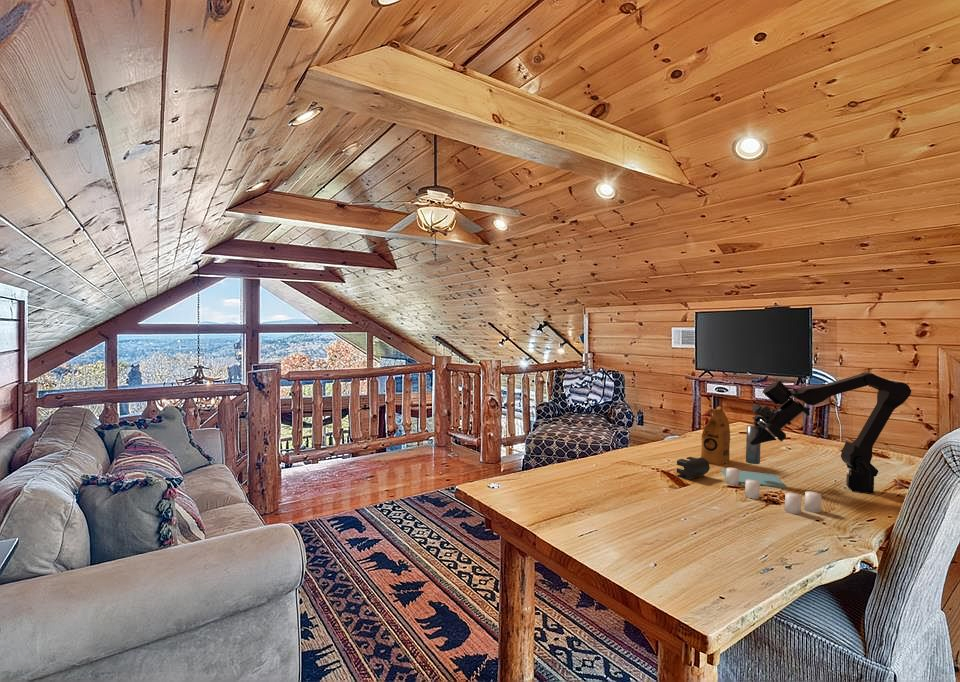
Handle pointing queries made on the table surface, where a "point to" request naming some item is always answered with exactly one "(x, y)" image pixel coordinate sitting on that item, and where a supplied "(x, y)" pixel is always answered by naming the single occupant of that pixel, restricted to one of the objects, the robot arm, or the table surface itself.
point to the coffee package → (716, 438)
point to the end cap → (692, 467)
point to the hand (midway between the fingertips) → (749, 442)
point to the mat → (759, 478)
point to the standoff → (752, 450)
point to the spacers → (790, 498)
